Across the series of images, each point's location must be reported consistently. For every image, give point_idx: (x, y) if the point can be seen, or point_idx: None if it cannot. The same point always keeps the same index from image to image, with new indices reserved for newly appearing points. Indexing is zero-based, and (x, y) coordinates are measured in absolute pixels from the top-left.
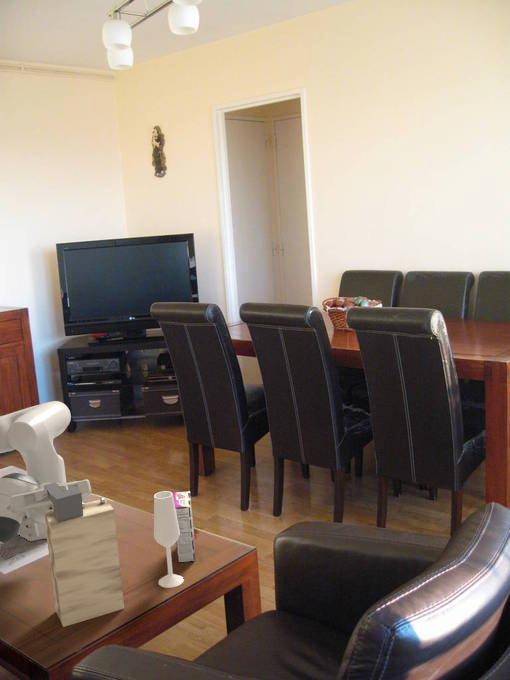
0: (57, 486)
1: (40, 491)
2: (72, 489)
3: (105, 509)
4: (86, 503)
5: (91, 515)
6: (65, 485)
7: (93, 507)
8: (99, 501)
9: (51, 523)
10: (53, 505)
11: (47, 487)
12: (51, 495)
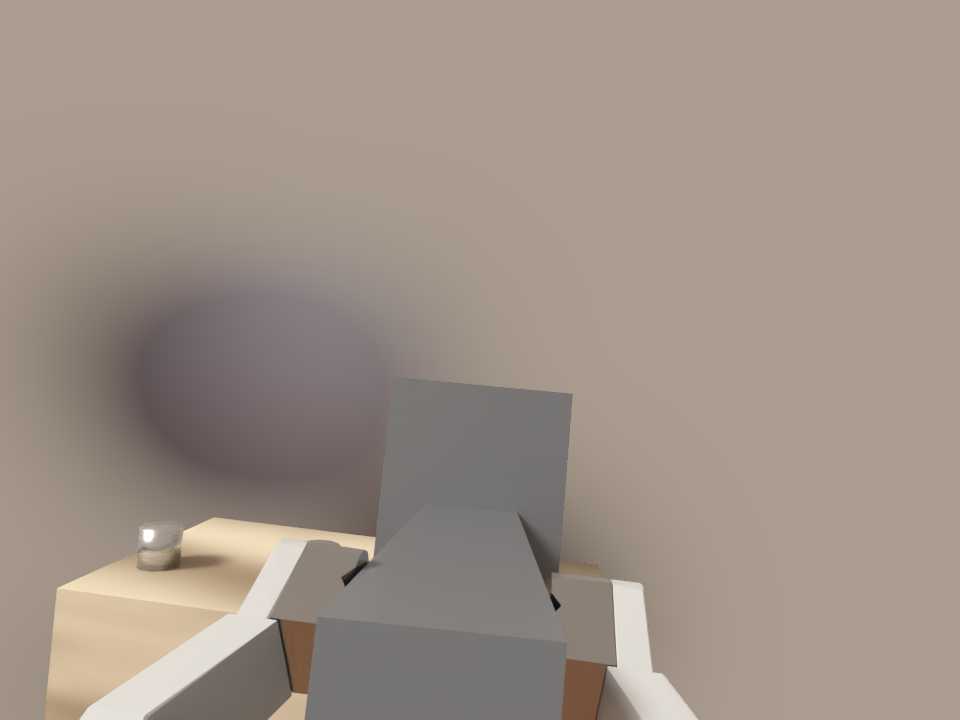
0: (377, 576)
1: (648, 646)
2: (433, 381)
3: (242, 530)
4: (235, 604)
5: (348, 537)
6: (289, 540)
7: (261, 562)
8: (142, 582)
9: (590, 569)
10: (565, 483)
11: (525, 604)
12: (529, 550)
